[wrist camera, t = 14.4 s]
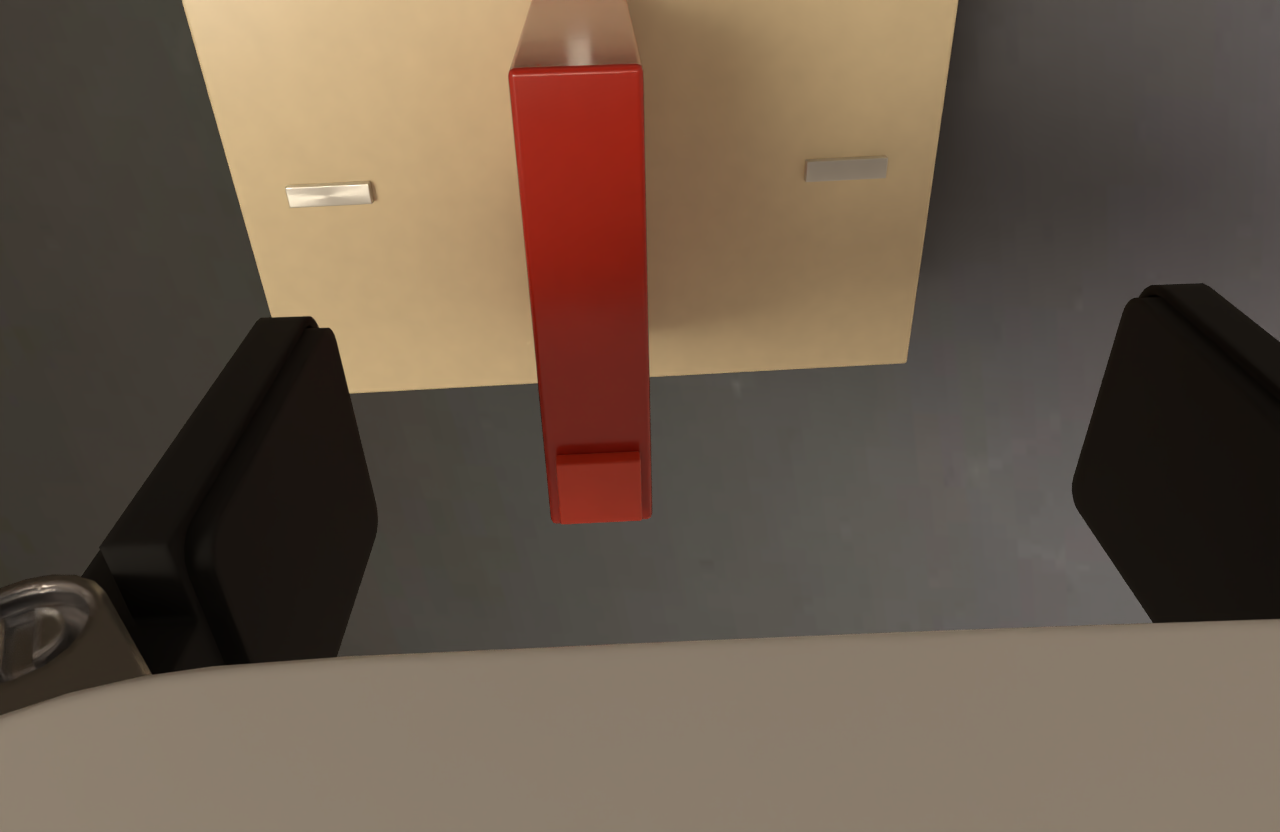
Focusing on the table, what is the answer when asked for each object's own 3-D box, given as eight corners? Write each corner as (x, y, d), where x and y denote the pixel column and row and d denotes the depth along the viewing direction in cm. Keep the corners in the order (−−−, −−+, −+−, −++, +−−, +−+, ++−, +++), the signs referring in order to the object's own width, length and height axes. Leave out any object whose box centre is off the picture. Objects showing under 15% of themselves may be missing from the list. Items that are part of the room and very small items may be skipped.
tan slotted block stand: (904, -188, 16) (992, -193, 13) (852, 321, 22) (903, 415, 18) (229, -161, 16) (130, -158, 12) (350, 348, 22) (304, 448, 18)
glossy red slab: (533, -10, 14) (504, 75, 9) (624, -13, 14) (644, 70, 9) (560, 338, 17) (550, 537, 12) (634, 335, 17) (653, 532, 12)
